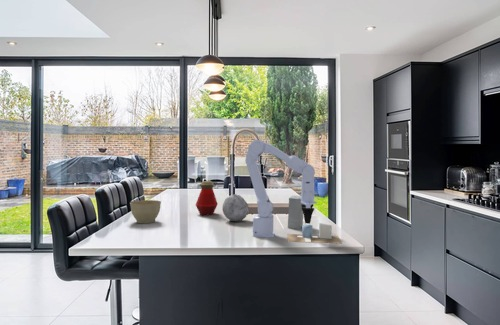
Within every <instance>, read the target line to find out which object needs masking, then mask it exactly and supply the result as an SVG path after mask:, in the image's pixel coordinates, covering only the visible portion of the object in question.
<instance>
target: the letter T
mask: <svg viewBox="0 0 500 325" xmlns="http://www.w3.org/2000/svg"><path fill="white" fill-rule="evenodd" d="M297 237H302V236H297ZM312 238H318V237H317V236H312ZM309 242H311V239H310V238H305V242H304V243H309Z"/></svg>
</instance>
